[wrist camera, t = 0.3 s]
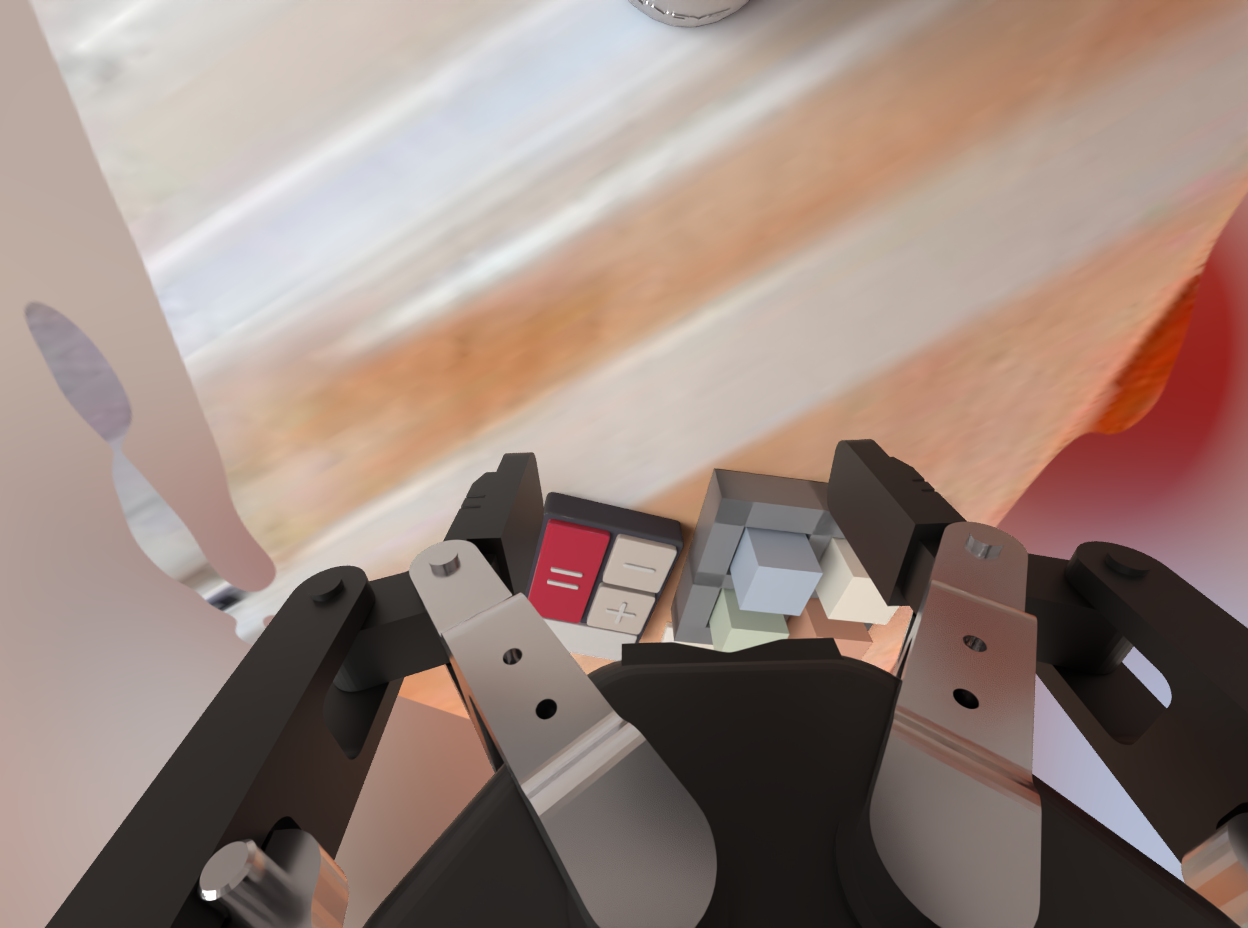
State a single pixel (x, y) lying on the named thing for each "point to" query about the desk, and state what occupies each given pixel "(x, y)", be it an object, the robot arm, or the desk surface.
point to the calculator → (600, 572)
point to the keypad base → (721, 527)
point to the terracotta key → (830, 630)
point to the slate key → (774, 571)
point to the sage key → (742, 625)
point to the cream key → (849, 587)
